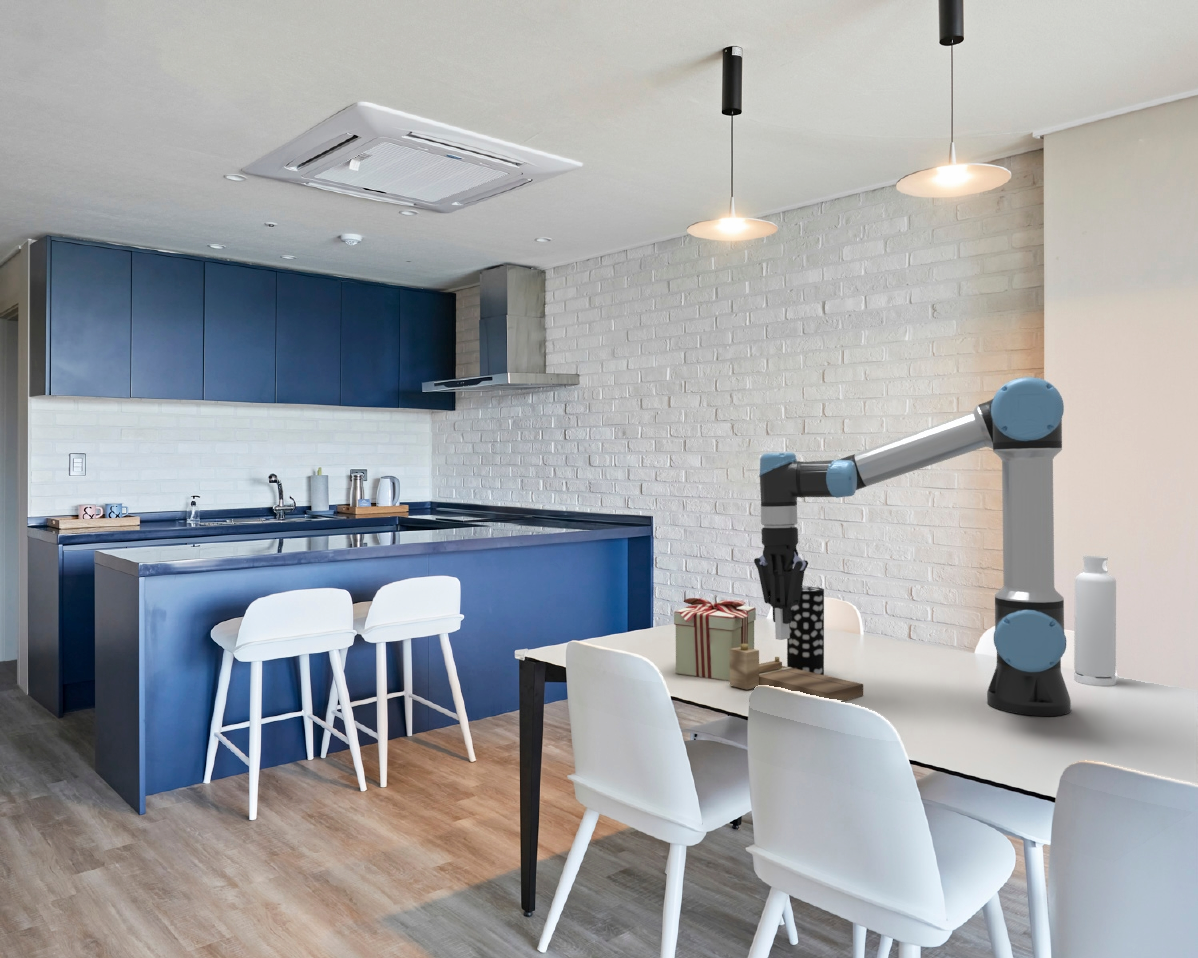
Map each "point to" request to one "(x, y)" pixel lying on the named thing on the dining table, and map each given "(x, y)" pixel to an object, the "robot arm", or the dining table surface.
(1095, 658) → the bottle
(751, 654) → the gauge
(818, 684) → the board
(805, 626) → the spotted tube
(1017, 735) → the dining table surface
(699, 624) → the gift box
